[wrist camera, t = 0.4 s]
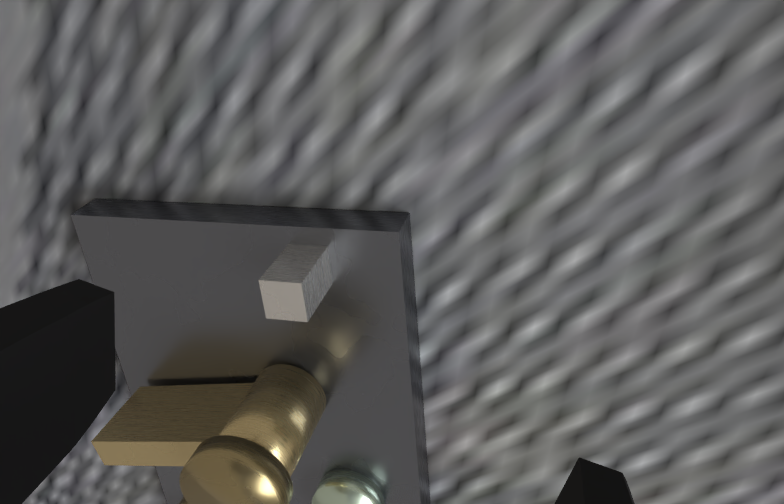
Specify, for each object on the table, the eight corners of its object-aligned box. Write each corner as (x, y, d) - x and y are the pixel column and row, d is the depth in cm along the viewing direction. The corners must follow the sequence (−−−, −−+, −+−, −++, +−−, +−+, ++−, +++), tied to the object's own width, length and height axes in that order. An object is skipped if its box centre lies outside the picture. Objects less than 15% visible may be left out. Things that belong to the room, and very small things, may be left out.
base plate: (435, 578, 27) (417, 658, 24) (199, 534, 30) (159, 600, 27) (409, 213, 19) (378, 269, 16) (94, 198, 22) (24, 244, 19)
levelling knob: (319, 354, 21) (259, 457, 17) (346, 429, 22) (295, 539, 18) (128, 363, 23) (41, 454, 20) (162, 430, 25) (86, 527, 21)
